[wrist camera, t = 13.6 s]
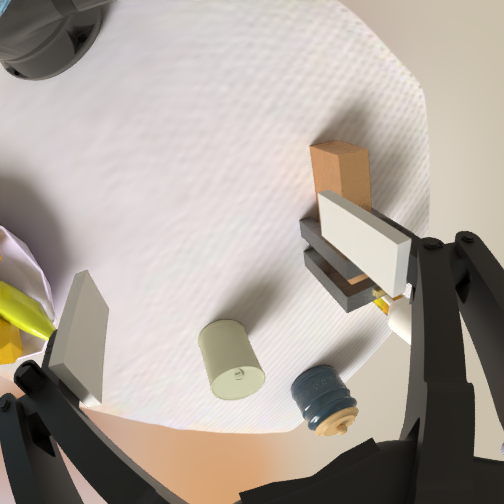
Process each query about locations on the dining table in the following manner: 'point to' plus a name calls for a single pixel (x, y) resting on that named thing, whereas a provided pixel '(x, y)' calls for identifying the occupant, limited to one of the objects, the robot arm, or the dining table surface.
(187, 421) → the dining table surface
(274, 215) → the dining table surface
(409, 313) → the champagne flute
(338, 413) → the canister
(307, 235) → the collar
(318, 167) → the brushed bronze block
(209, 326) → the can
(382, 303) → the supplement bottle
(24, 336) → the fruit bowl
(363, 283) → the collar
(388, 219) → the robot arm
